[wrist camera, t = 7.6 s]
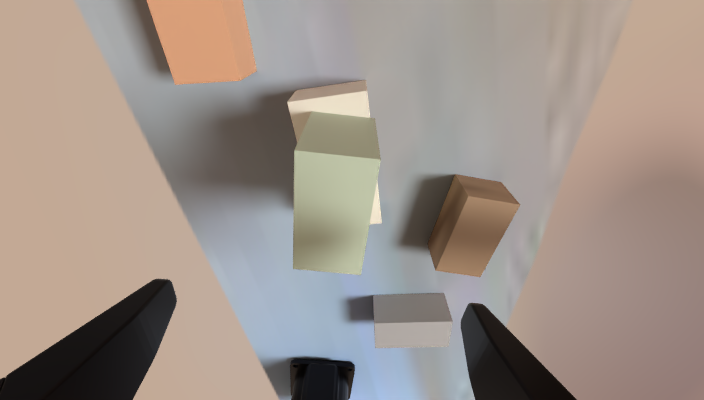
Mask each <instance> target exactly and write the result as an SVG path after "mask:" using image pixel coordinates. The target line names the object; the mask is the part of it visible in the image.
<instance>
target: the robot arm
mask: <svg viewBox="0 0 704 400" xmlns="http://www.w3.org/2000/svg"><path fill="white" fill-rule="evenodd" d="M176 302H177V300H176V295H175V291H174V288H173V285H172V282H171V281H170V280H168V279H155V280H152V281H151V282H150V283H148V284H146V285H145V286H143V287H142V288H140V289H139V290H137V291H135V292H134V293H133V294H131V295H129V296H128V297H126V298H125V299H124V300H122V301H120V302H119V303H117V304H116V305H114V306H113V307H111V308H109V309H108V310H106V311H105V312H103V313H102V314H100V315H99V316H97V317H95V318H94V319H92V320H91V321H90V322H88V323H86V324H85V325H83V326H82V327H80V328H79V329H77V330H76V331H74V332H72V333H71V334H69V335H68V336H66V337H65V338H63V339H62V340H60V341H59V342H57V343H56V344H54V345H52V346H51V347H49V348H48V349H46V350H45V351H43V352H42V353H40V354H39V355H37V356H36V357H34V358H32V359H31V360H30V361H28V362H26V363H25V364H23V365H22V366H20V367H19V368H17V369H16V370H14V371H12V372H11V373H10V374H8V375H7V376H6V378H2V379H0V400H133V398H134V396H135V394H136V392H137V390H138V388H139V386H140V384H141V383H142V381H143V379H144V377H145V375H146V373H147V371H148V369H149V367H150V366H151V364H152V362H153V359H154V357H155V355H156V353H157V351H158V348H159V346H160V343H161V341H162V338H163V336H164V333H165V331H166V329H167V326H168V323H169V321H170V318H171V316H172V314H173V311H174V309H175V306H176ZM461 331H462V337H463V343H464V349H465V355H466V361H467V367H468V372H469V378H470V382H471V386H472V389H473V393H474V397H475V400H576V398H575V397H574V396H573V395H572V394H571V393H570V392H569V391H568V390H567V389H566V388H565V387H564V386H563V385H562V384H561V383H560V382H559V381H558V380H557V379H556V378H555V377H554V376H553V375H552V374H551V373H550V372H549V371H548V370H547V369H546V368H545V367H544V366H543V365H542V364H541V363H540V362H539V361H538V360H537V359H536V358H535V357H534V355H533V354H532V353H531V352H529V350H528V349H527V348H526V347H525V346H524V345H523V344H522V343H521V342H520V341H519V340H518V339H517V338H516V337H515V336H514V335H513V334H512V333H511V332H510V331H509V330H508V329H507V328H506V327H505V326H504V325H503V324H502V323H501V322H500V321H499V320H498V319H497V318H496V317H495V316H494V315H493V314H492V313H491V312H490V311H489V309H488V308H487V307H486V306H484V305H483V304H478V303H470V304H468V306H467V308H466V310H465V312H464V315H463V317H462V319H461ZM354 371H355V365H354V364H352V363H342V362H327V361H313V360H298V359H294V360H292V361H291V365H290V373H291V395H292V398H291V400H348V399H349V398H350V394H351V388H352V383H353V377H354Z"/></svg>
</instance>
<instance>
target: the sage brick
mask: <svg viewBox="0 0 704 400" xmlns="http://www.w3.org/2000/svg"><path fill="white" fill-rule="evenodd" d="M380 161H381V159H380V151H379V144H378V137H377V130H376V123H375V118H366V117H357V116H349V115H340V114H331V113H322V112H313V111H312V112H311V115H310V117H309V119H308V121H307V123H306V126H305V128H304V130H303V132H302V134H301V137H300V139H299V141H298V143H297V145H296V148H295V150H294V231H293V269H301V270H312V271H323V272H334V273H345V274H355V275H361V271H362V265H363V259H364V253H365V247H366V242H367V236H368V230H369V224H370V219H371V213H372V207H373V201H374V195H375V190H376V184H377V178H378V172H379V166H380Z"/></svg>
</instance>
